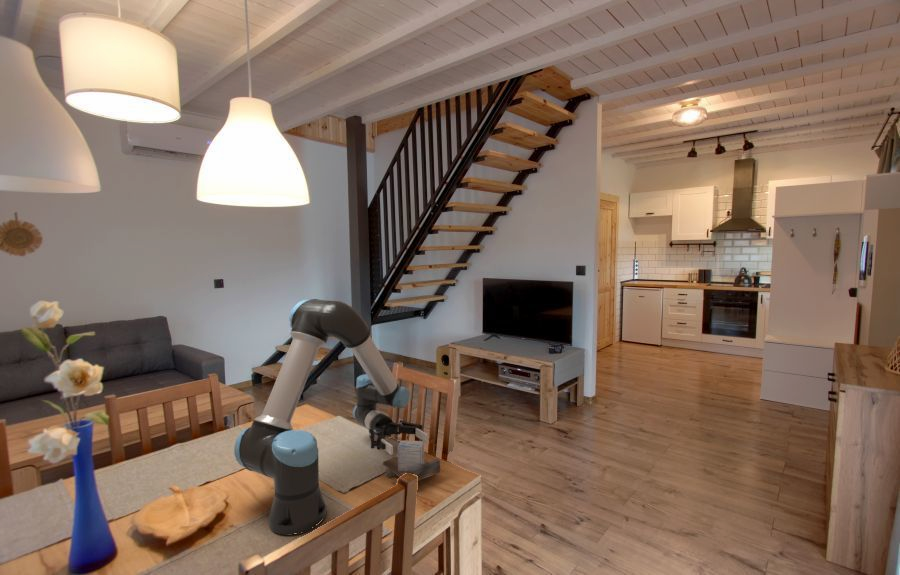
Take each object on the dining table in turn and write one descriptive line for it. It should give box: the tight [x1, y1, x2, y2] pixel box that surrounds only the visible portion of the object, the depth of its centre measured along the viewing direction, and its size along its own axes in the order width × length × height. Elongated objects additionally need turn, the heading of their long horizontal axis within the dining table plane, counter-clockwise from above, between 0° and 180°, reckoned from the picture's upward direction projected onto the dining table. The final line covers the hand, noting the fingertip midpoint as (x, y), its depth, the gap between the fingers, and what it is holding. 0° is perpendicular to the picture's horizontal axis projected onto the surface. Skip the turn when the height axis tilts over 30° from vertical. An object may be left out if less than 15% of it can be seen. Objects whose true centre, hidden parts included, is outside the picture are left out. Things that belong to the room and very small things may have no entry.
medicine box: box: [397, 440, 425, 472], centre depth 138 cm, size 8×4×9 cm, turn 83°
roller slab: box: [382, 456, 441, 482], centre depth 141 cm, size 13×16×6 cm
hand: (410, 444), depth 139 cm, fingers open, 13 cm apart
